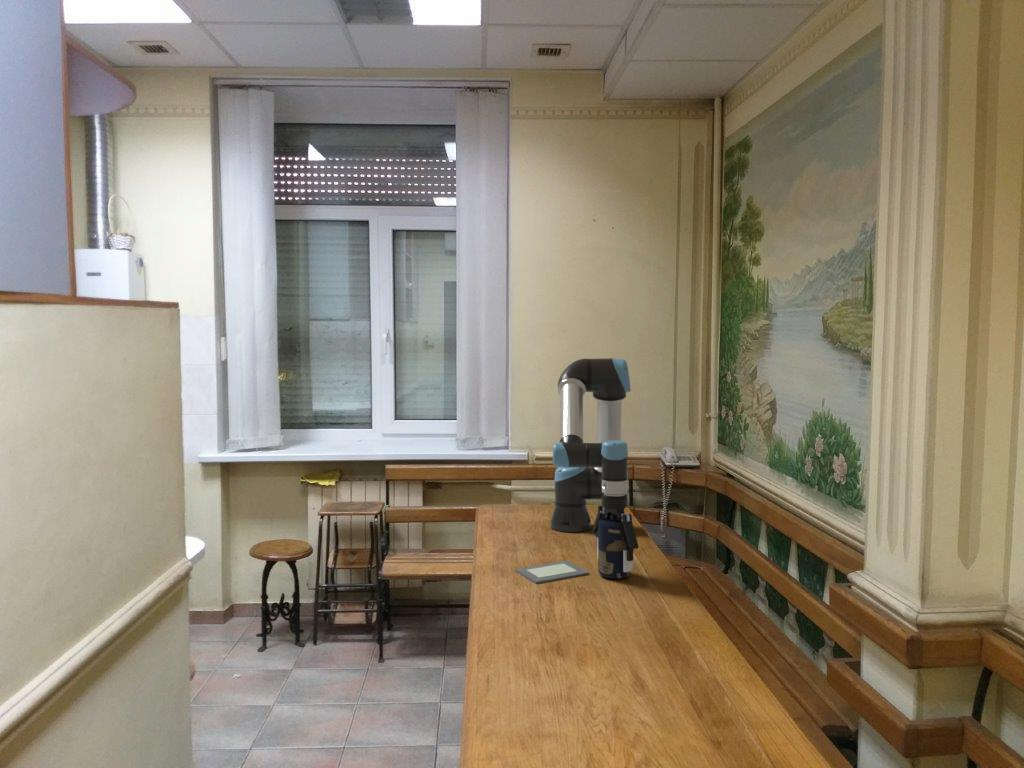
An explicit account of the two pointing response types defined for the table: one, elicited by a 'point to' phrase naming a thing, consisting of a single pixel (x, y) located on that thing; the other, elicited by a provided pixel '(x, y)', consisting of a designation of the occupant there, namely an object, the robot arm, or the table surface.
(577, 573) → the mat
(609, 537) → the canister
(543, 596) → the table surface
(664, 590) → the table surface
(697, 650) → the table surface
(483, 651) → the table surface
